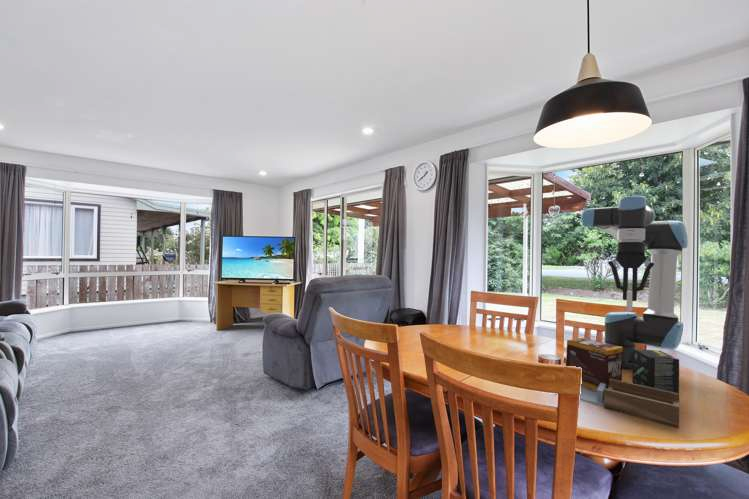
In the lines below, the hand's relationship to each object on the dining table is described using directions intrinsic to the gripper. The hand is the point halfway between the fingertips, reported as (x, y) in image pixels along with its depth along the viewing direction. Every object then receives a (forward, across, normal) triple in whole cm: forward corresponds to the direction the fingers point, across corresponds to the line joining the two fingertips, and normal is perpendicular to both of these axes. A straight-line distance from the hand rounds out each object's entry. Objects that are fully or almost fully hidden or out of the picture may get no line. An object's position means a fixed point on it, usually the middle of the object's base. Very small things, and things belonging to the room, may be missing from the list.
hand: (629, 310), depth 118 cm
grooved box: (+30, +4, -8) cm, 32 cm away
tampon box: (+31, +7, +11) cm, 33 cm away
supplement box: (+31, -11, +7) cm, 33 cm away
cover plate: (+31, -13, -8) cm, 35 cm away
